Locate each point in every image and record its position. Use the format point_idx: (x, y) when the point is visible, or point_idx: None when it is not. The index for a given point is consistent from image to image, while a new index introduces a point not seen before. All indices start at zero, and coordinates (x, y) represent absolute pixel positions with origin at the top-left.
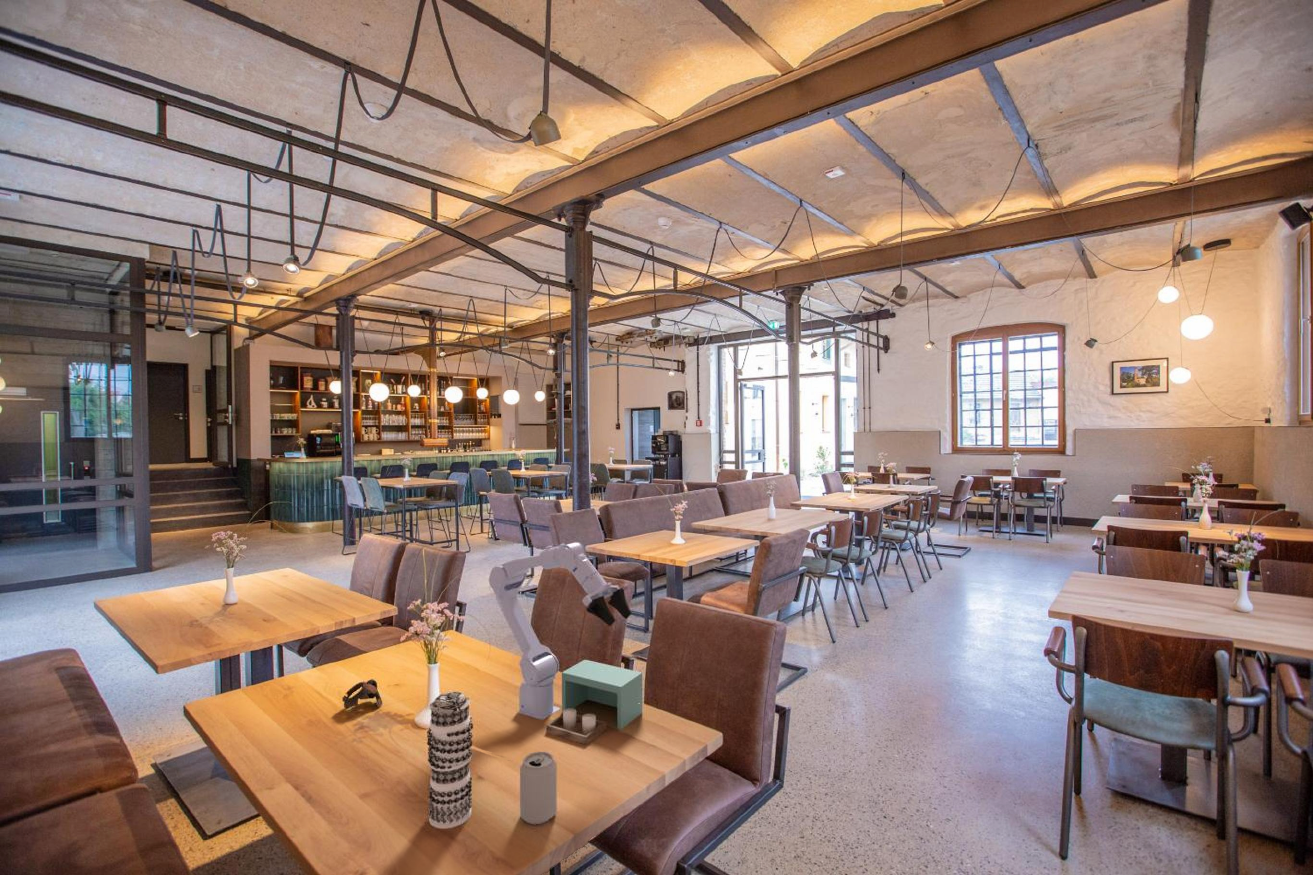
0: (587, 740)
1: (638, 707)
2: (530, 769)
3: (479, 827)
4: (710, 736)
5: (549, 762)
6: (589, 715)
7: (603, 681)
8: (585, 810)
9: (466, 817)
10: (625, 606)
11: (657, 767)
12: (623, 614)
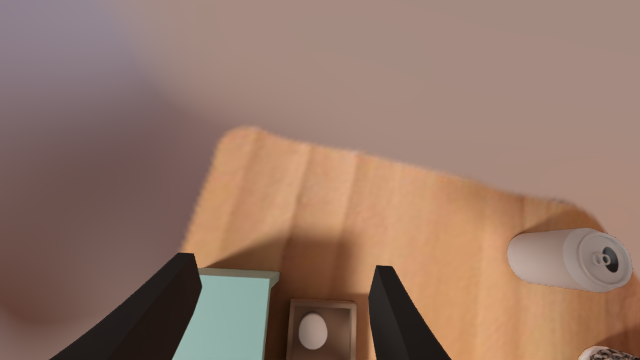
0: (351, 302)
1: (212, 269)
2: (623, 257)
3: (591, 315)
4: (235, 130)
5: (599, 234)
6: (307, 335)
7: (257, 343)
8: (483, 207)
9: (597, 348)
10: (157, 306)
11: (351, 167)
12: (187, 312)
